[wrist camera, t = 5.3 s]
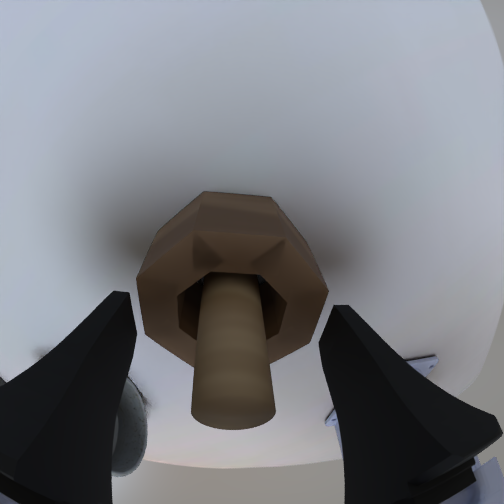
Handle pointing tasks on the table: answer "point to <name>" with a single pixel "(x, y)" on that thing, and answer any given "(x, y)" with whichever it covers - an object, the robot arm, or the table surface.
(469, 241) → the table surface
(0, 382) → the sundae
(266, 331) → the bead
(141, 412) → the ceramic mug
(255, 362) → the dowel
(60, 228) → the table surface
